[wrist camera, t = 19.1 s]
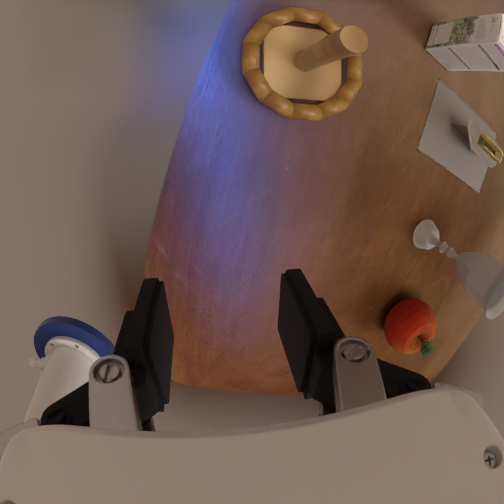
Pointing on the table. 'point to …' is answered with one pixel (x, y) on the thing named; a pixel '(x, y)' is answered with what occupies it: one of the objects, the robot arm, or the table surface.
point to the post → (308, 60)
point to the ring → (278, 101)
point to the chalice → (469, 269)
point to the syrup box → (469, 43)
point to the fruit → (410, 327)
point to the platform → (459, 138)
